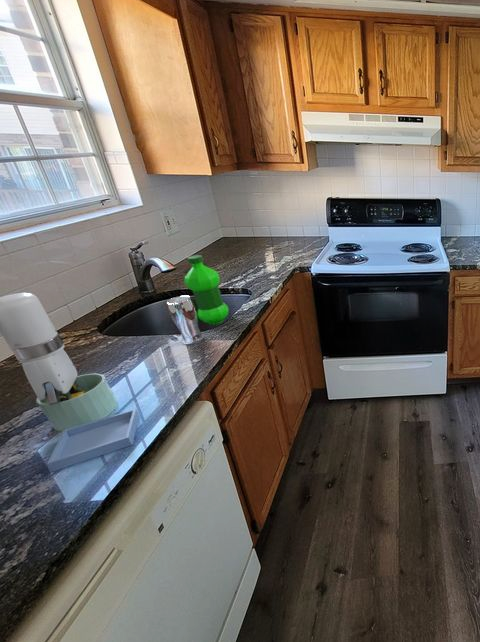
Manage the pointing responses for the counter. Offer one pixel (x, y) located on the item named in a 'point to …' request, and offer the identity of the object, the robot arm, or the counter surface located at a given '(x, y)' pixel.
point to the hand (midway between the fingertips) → (76, 410)
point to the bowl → (81, 404)
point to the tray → (94, 439)
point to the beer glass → (185, 318)
